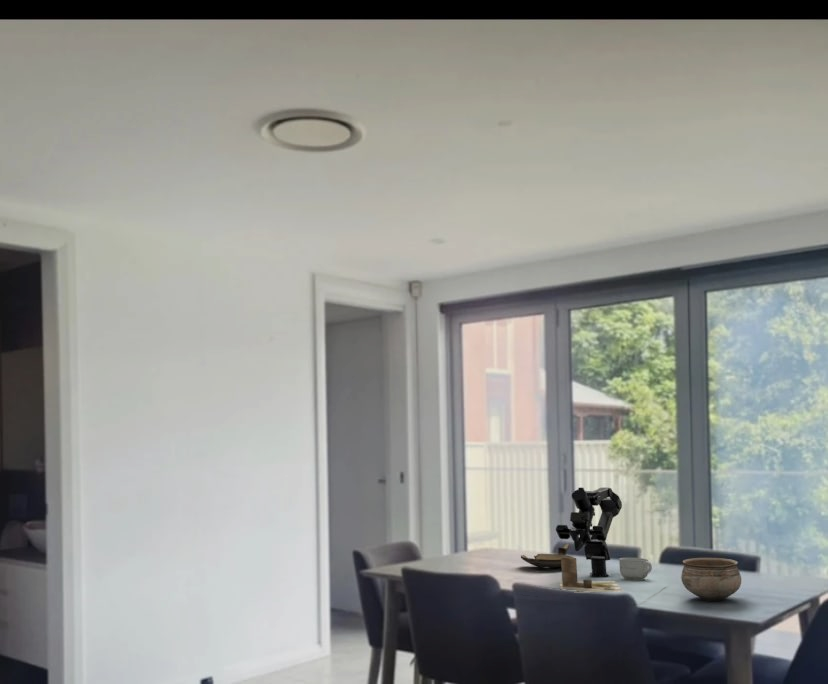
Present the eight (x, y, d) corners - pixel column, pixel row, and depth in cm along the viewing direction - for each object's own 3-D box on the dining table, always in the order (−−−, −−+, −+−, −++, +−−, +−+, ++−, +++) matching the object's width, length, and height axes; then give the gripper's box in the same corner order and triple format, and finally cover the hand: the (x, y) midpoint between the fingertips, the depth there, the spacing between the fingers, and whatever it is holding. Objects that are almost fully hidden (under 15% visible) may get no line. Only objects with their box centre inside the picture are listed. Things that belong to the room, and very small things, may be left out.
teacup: (614, 579, 312) (613, 557, 313) (638, 576, 316) (636, 555, 317) (636, 584, 299) (635, 562, 300) (660, 581, 303) (659, 559, 304)
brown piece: (612, 587, 288) (610, 559, 289) (609, 589, 286) (607, 560, 287) (564, 584, 298) (563, 556, 299) (561, 586, 295) (559, 558, 296)
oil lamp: (509, 567, 347) (508, 549, 348) (562, 560, 363) (561, 542, 364) (542, 574, 328) (541, 555, 329) (597, 566, 344) (596, 547, 344)
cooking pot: (711, 590, 283) (709, 554, 285) (760, 598, 268) (757, 560, 269) (664, 600, 270) (662, 563, 271) (713, 609, 254) (710, 569, 255)
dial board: (558, 584, 304) (558, 581, 304) (615, 583, 302) (615, 580, 302) (561, 595, 284) (561, 591, 284) (622, 594, 282) (622, 590, 282)
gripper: (555, 503, 314) (546, 536, 303) (602, 504, 304) (594, 537, 294) (564, 522, 320) (555, 554, 309) (610, 523, 310) (602, 556, 299)
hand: (576, 550), depth 303 cm, fingers closed
